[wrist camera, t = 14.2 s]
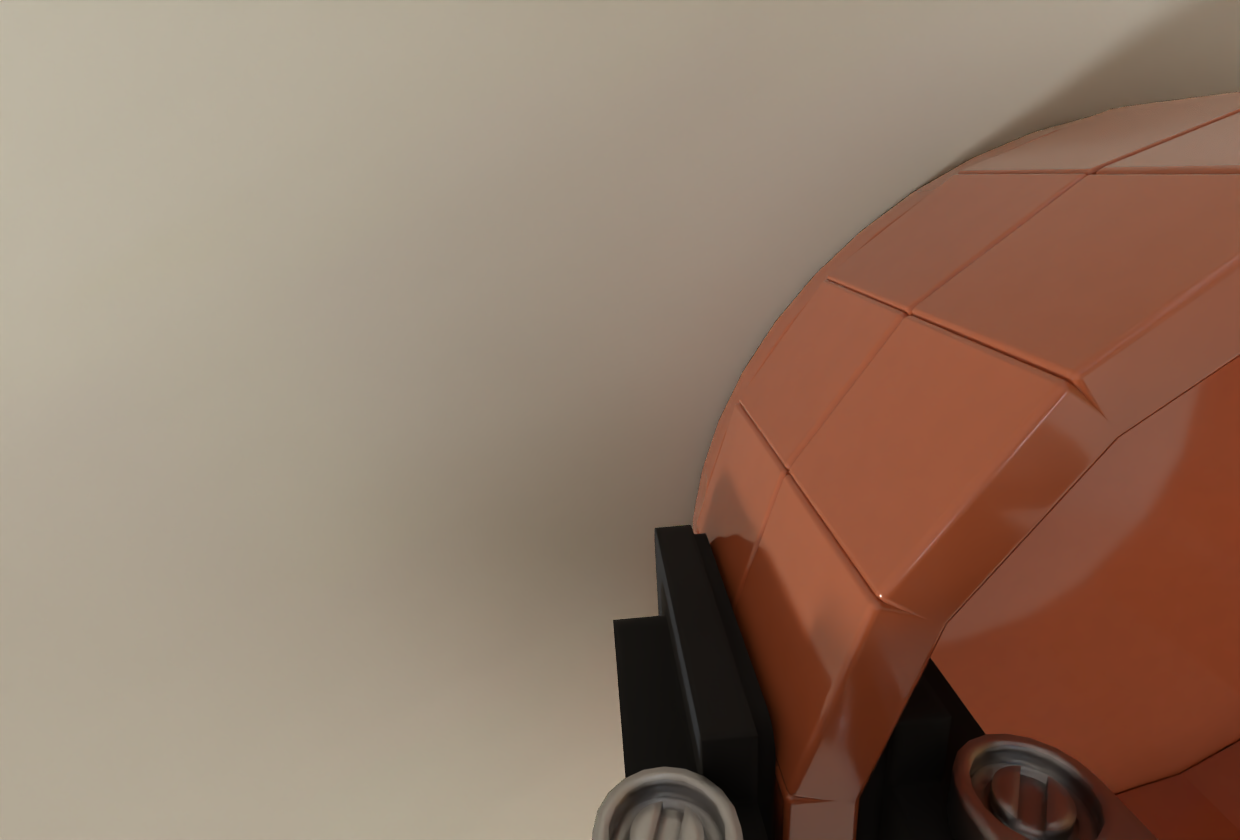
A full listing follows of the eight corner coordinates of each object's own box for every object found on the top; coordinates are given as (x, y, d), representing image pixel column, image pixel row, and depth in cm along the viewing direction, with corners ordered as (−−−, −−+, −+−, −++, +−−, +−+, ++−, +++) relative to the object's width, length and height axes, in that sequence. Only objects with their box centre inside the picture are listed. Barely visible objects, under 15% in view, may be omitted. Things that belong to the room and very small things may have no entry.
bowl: (676, 139, 9) (807, 89, 4) (1609, 75, 9) (2857, -47, 4) (699, 838, 14) (772, 1238, 9) (1320, 774, 14) (1745, 1118, 9)
